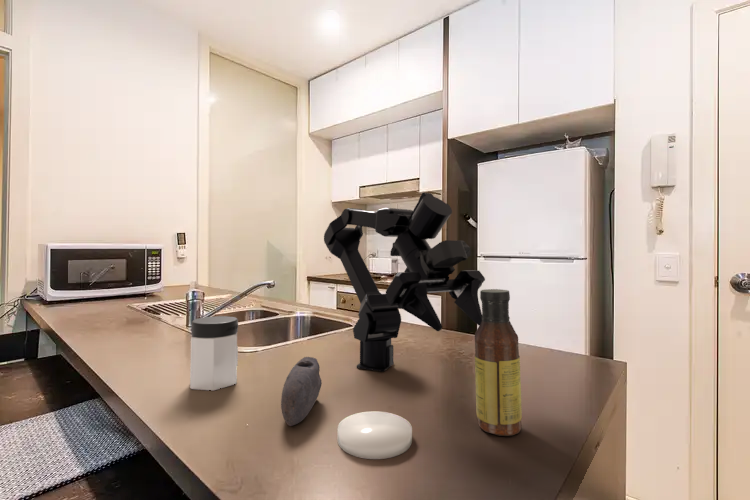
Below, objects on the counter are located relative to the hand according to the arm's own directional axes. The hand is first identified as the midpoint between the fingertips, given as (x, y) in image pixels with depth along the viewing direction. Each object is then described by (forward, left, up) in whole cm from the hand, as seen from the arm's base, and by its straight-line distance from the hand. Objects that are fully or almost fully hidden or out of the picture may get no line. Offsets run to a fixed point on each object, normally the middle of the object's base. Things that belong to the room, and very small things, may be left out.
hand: (461, 326), depth 60 cm
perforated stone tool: (-23, -11, -14) cm, 29 cm away
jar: (-45, -7, -13) cm, 48 cm away
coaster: (-9, -14, -13) cm, 21 cm away
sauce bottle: (+6, -4, -13) cm, 15 cm away
